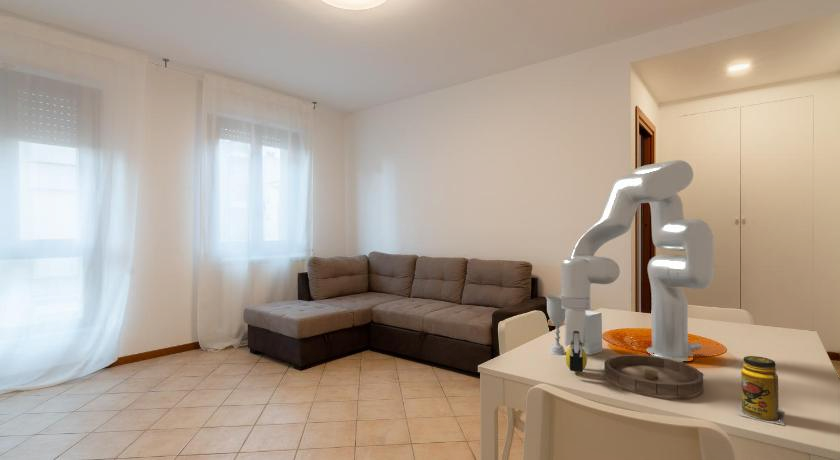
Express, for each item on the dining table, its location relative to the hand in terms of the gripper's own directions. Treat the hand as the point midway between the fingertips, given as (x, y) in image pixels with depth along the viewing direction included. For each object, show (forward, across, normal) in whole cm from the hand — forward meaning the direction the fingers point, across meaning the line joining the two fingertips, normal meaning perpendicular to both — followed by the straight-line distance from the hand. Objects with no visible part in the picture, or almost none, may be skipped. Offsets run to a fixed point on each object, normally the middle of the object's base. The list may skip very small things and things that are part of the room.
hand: (576, 365), depth 111 cm
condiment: (+2, +12, +37) cm, 39 cm away
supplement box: (+2, -23, +3) cm, 23 cm away
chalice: (+2, -18, -5) cm, 19 cm away
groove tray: (+2, 0, +18) cm, 19 cm away
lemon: (+2, 0, 0) cm, 2 cm away
